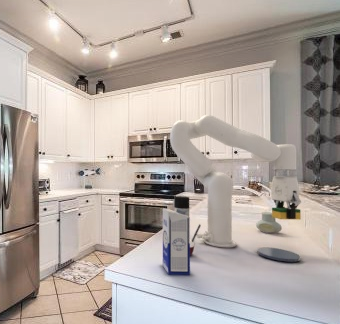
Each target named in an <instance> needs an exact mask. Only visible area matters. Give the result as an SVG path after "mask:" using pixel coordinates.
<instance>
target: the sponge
mask: <svg viewBox="0 0 340 324" xmlns="http://www.w3.org/2000/svg"><path fill="white" fill-rule="evenodd" d="M287 209H288V207H285V208H276V207H271V213H272V217H274V218H275V219H278V220H288V219H287ZM301 215H302V214H301V209H299V208H297V209H296V219H295V220H302V219H301V217H302V216H301Z"/></svg>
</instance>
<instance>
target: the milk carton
mask: <svg viewBox="0 0 340 324" xmlns="http://www.w3.org/2000/svg"><path fill="white" fill-rule="evenodd" d="M185 213H186V211H183V210H180V209H177V211H174V209H173V210H172V209H170V208H165V207H162V267H163V268H164V270H165V272H166V273H167V274H168V275H169V276H170V275H172V276H190V275H191V255H190V240H191V217H190V216H189V217H188V216H187V215H185Z"/></svg>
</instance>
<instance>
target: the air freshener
mask: <svg viewBox="0 0 340 324" xmlns="http://www.w3.org/2000/svg"><path fill="white" fill-rule="evenodd" d="M255 226H256V228H257V229H258V230H259V231H260V232H263V233H264V234H278V233H280V232H282V229H283V228H282V225H281V224H280V223H279V222H278V221H276V218H274V217H272V212H267V211H263V212H261V220H258V221H257V222H256V224H255Z"/></svg>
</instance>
